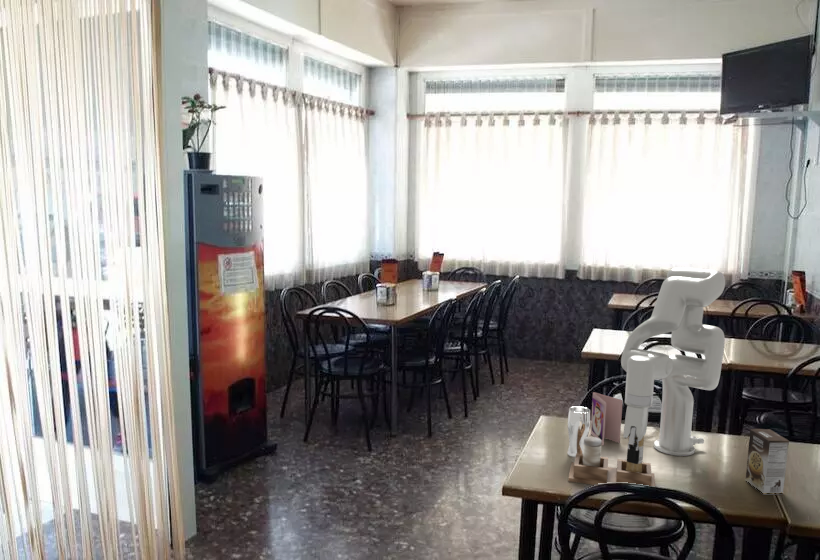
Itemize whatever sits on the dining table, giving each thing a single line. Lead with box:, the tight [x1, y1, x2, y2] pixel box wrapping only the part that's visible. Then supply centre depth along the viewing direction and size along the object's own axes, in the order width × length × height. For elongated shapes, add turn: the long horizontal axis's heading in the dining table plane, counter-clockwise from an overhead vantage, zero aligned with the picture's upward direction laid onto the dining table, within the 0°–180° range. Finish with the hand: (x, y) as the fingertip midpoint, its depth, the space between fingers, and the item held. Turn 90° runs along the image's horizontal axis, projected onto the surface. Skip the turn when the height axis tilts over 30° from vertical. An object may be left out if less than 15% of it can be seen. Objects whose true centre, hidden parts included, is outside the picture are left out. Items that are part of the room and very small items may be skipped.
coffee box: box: [745, 428, 790, 494], centre depth 193 cm, size 9×6×16 cm
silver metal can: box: [567, 405, 591, 459], centre depth 214 cm, size 7×7×15 cm
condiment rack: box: [567, 436, 656, 486], centre depth 197 cm, size 24×12×11 cm, turn 72°
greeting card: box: [590, 391, 624, 447], centre depth 227 cm, size 11×7×15 cm, turn 6°
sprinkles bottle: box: [626, 432, 646, 473], centre depth 194 cm, size 5×5×14 cm
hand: (634, 459), depth 195 cm, fingers closed on sprinkles bottle, 4 cm apart
